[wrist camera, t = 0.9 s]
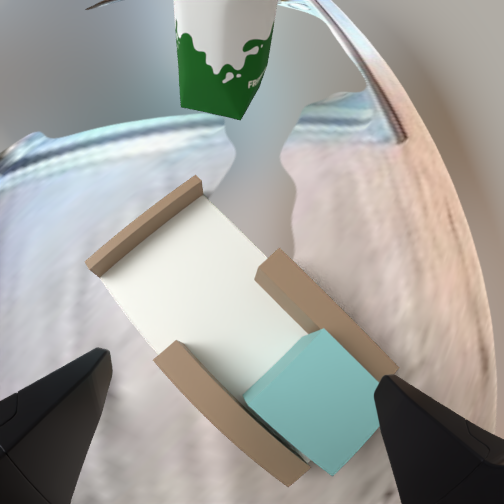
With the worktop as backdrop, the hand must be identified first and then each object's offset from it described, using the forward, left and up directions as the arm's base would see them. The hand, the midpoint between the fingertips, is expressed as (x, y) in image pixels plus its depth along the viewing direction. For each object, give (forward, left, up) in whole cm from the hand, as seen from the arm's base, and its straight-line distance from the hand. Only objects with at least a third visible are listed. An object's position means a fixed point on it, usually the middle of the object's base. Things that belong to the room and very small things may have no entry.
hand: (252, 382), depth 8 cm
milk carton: (+22, -18, -13) cm, 31 cm away
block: (-5, -2, -12) cm, 13 cm away
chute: (+2, -2, -12) cm, 13 cm away
